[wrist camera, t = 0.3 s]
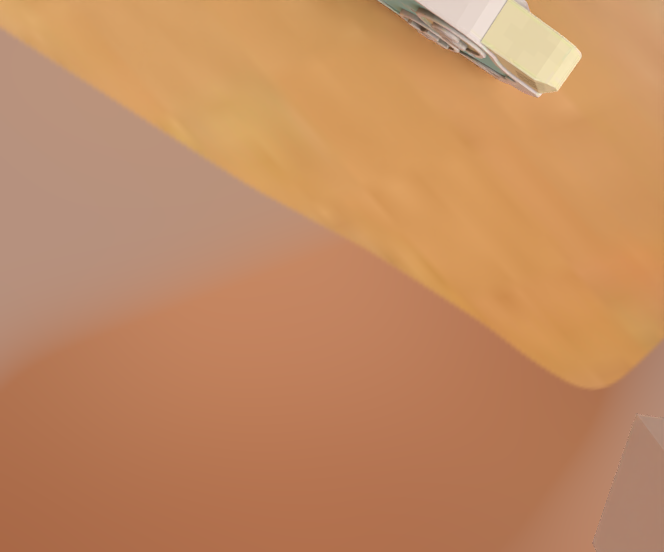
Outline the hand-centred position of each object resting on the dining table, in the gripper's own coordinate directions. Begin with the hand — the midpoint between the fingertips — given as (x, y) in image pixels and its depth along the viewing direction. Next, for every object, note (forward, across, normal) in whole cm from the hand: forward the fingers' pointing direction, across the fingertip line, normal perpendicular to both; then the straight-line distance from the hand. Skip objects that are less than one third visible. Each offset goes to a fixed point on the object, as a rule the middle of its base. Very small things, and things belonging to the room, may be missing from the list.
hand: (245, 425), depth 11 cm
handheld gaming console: (+27, +3, +10) cm, 29 cm away
